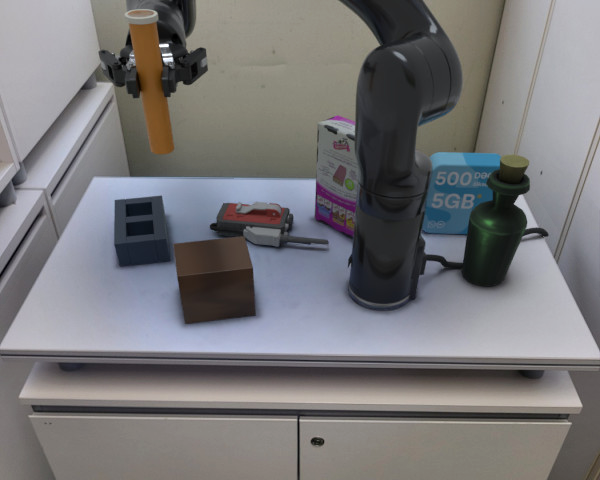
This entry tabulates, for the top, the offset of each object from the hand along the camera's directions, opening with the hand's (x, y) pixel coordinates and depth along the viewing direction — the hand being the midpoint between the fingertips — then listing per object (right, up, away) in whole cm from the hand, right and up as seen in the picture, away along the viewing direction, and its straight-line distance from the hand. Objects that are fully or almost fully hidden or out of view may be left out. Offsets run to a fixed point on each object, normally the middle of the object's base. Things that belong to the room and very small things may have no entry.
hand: (150, 88), depth 67 cm
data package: (+44, -6, +33) cm, 55 cm away
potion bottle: (+45, -16, +24) cm, 54 cm away
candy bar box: (+25, -6, +33) cm, 42 cm away
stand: (+5, -22, +18) cm, 29 cm away
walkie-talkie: (+12, -8, +31) cm, 35 cm away
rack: (-9, -9, +30) cm, 32 cm away
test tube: (0, -4, +8) cm, 9 cm away
